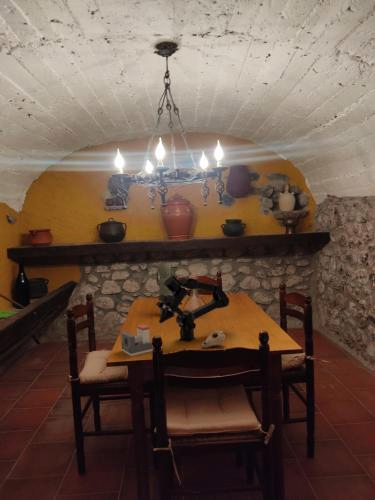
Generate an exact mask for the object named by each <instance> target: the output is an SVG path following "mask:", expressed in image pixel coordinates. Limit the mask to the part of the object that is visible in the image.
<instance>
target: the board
mask: <svg viewBox="0 0 375 500" xmlns="http://www.w3.org/2000/svg"><path fill="white" fill-rule="evenodd" d="M152 350H153V349H150V350H145V351H141V352H137V353H133V354H130V353H129V352H127V351H125V350H123V349H122V348H121V351H122V352H124V353H125V354H126V355H127V354H128V355H129V356H131V357H132V356H137V355H141V354H146V353H150V352H153V351H152Z"/></svg>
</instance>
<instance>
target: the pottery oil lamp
mask: <svg viewBox="0 0 375 500" xmlns="http://www.w3.org/2000/svg"><path fill="white" fill-rule="evenodd" d="M225 340H226V335H225V334H224V332H223V330H214V331H212V332H210V334H208V336H207V338H206V339H205V340H204V341H202V342H201V347H202V348H204V349H206V348H210V347H214V346H218V345H221V344H223V343H224V342H225Z"/></svg>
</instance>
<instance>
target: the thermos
mask: <svg viewBox="0 0 375 500" xmlns="http://www.w3.org/2000/svg"><path fill="white" fill-rule="evenodd" d="M172 273H173V274H172ZM175 274H176V272H175V270H174V268H172V265H171V263H170V262H169V261H162V262H160V263H159V269H157V271H156V284H157V286H158V287H159V291H160V294H161V295H165V296H167V295H171V296H172V295H173V292H171V291H170V290H169V289H168V288H167V287H166V286H165V285H164V282H165V281H166V280H167V279H168V278H170V277H171V276H175V277H176V275H175ZM159 275H160V276H159ZM160 294H159V295H160ZM160 301H161V300H160ZM161 302H163V301H161ZM163 303H164V302H163ZM159 312H160V314H161V313H162V310H161V309H160V308H159Z"/></svg>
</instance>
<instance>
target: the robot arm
mask: <svg viewBox="0 0 375 500" xmlns="http://www.w3.org/2000/svg"><path fill="white" fill-rule="evenodd" d="M164 285H165V286H166V287H167V288H168V289H169V290H170V291H171V292H172V296H171V295H167V296H165V295H161V294H159V297H158V299H157V300H158V301H157V303H155V306H157V307H158V308H159V310H160V309H161V310H162V313H161V312H160V317H159V320H158V322H159V323H160V324H162V323H164V322H166V321H168V320H171V318H173V317H175V316H176V318H175V322H176V323H177V325H178V328H179V327H180V330H179V339H178V340H180V341H184V342H185V341H186V342H191V341H193V340H195V339H197V338H196V336H195V329H196V326H197V324H196V323H195V320H196V319H199V318H201V317H202V316H204V315H207V314H208V313H210V312H212V311H214V310H216V309H224V308H226V307H229V305H230V298H229V297H228V296H227V293H226V292H225V291H223V289H222V287H221V286H220V285H219V284H211V283H206V282H202V281H199V280H197V279H195V278H193V277H187V276H184V277H183V278H182V279H180V280H178V279H177V277H176V275H175V276H173V275H171V277H170V278H168V279H167V280H166V281H165V282H164ZM197 289H199V290H204V291H209V292H210V291H211V295H212V299H211V300H210V301H209V302H207V303H205V304H203V305H201V306H200V307H197V308H195V309H193V310H191V311H190V310H188V309H184V310H182V309H181V308H180V307H179V306H180V305H181V306H182V305H183V301H184V299H185V297H186V296H187V297H191V291H190V290H197ZM161 301H163V302H164V303H163V302H161ZM175 314H177V315H175Z"/></svg>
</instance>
